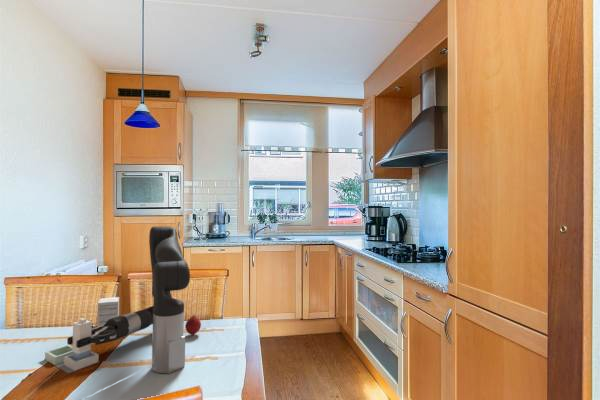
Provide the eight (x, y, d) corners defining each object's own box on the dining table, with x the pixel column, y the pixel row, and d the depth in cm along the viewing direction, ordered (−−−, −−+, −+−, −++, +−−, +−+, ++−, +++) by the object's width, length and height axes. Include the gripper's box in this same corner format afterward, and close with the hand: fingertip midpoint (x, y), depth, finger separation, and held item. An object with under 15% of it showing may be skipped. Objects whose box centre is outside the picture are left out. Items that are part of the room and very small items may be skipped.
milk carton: (90, 362, 107) (91, 318, 107) (78, 366, 103) (79, 321, 104) (83, 359, 108) (84, 316, 108) (71, 364, 105) (73, 319, 105)
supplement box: (98, 329, 137) (99, 298, 137) (119, 326, 140) (119, 296, 140) (96, 335, 130) (97, 303, 130) (117, 332, 133) (118, 301, 134)
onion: (195, 338, 128) (196, 317, 128) (182, 337, 129) (182, 316, 130) (203, 333, 134) (203, 313, 134) (190, 331, 135) (190, 312, 135)
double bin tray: (99, 363, 107) (99, 354, 107) (68, 375, 99) (68, 365, 99) (73, 351, 116) (74, 342, 116) (44, 361, 108) (44, 351, 108)
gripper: (110, 312, 122) (59, 326, 107) (136, 318, 116) (86, 335, 100) (110, 332, 122) (59, 350, 107) (136, 340, 115) (85, 360, 100)
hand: (72, 342), depth 103 cm, fingers open, 4 cm apart
